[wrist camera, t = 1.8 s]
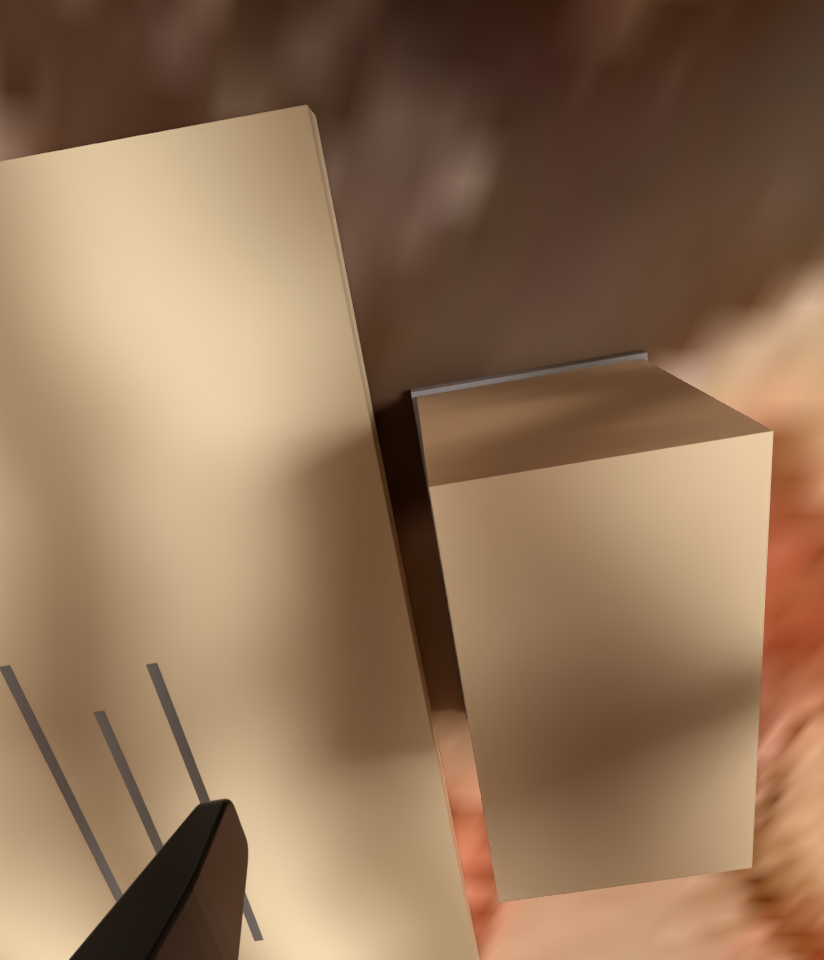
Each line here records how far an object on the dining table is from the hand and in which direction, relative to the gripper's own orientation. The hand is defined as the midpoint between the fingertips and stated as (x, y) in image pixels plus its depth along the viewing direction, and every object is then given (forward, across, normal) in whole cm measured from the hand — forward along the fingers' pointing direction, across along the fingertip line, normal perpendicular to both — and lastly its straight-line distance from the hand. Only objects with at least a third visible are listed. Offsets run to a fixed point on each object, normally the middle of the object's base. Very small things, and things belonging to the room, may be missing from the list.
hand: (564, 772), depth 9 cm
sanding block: (+6, -1, 0) cm, 6 cm away
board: (+6, +9, +3) cm, 11 cm away
